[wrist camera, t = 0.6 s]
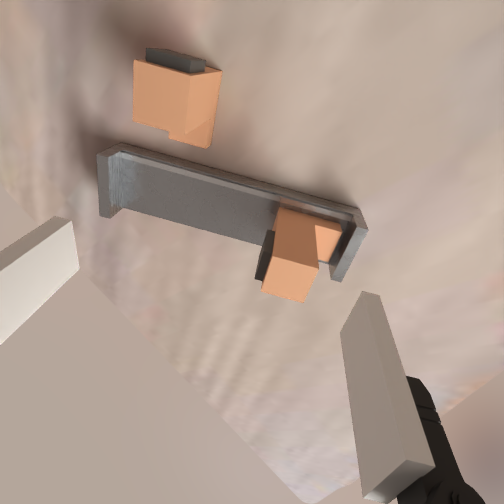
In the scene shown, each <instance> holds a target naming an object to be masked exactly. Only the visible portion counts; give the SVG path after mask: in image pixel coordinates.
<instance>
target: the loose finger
mask: <svg viewBox="0 0 504 504" xmlns="http://www.w3.org/2000/svg"><path fill="white" fill-rule="evenodd" d="M205 64H206V60H202V59H199V58H195V57H192V56H188V55H185V54H181V53H178V52H174V51H171V50H167V49H154V48H146V60H134V71H133V121H134V122H138V123H141V124H145V125H148V126H152V127H155V128H159V129H162V130H166V131H169V139H173V140H176V141H180V142H183V143H187V144H191V145H194V146H198V147H201V148H205V149H207V148H208V147H209V146H210V145H211V141H212V134H213V128H214V121H215V115H216V109H217V102H218V96H219V89H220V83H221V77H222V71H220V70H216V69H213V68H209V67H206V66H205Z"/></svg>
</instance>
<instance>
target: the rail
mask: <svg viewBox="0 0 504 504" xmlns="http://www.w3.org/2000/svg"><path fill="white" fill-rule="evenodd" d="M96 157H97V176H98V195H99V214H100V216H102V217H106V218H109V219H110V218H112V217H113V216H114V215H115V214H116V213H117V212H119V211H120V210H121V209H122V208H126V209H130V210H134V211H137V212H141V213H144V214H148V215H152V216H155V217H159V218H163V219H166V220H170V221H173V222H177V223H181V224H184V225H188V226H192V227H195V228H199V229H202V230H206V231H210V232H213V233H217V234H220V235H224V236H228V237H231V238H235V239H239V240H242V241H246V242H249V243H253V244H257V245H260V246H262V245H263V242H264V239H265V236H266V232H267V229H268V230H272V229H273V225H274V222H275V219H276V216H277V213H278V210H279V207H282V208H285V209H289V210H293V211H296V212H300V213H303V214H307V215H310V216H314V217H318V218H321V219H325V220H328V221H332V222H336V223H339V224H340V225H341V229H342V234H341V236H340V238H339V240H338V242H337V245H336V247H335V249H334V251H333V253H332V255H331V257H330V259H329V262H326V261H322V260H319V259H318V262H322V263H325V264H329V270H330V277H331V280H335V281H338V282H341V281H342V279H343V278H344V276H345V274H346V272H347V270H348V268H349V266H350V264H351V262H352V260H353V259H354V257H355V255H356V253H357V251H358V249H359V247H360V245H361V243H362V241H363V239H364V238H365V236H366V234H367V232H368V227H367V225H366V222H365V220H364V218H363V215H362V213H361V210H360V209H358V208H354V207H350V206H347V205H343V204H340V203H336V202H333V201H329V200H325V199H322V198H318V197H315V196H311V195H308V194H304V193H300V192H297V191H293V190H290V189H286V188H283V187H279V186H275V185H272V184H268V183H265V182H261V181H258V180H254V179H250V178H247V177H243V176H240V175H236V174H233V173H229V172H225V171H222V170H218V169H215V168H211V167H207V166H204V165H200V164H197V163H193V162H190V161H186V160H182V159H179V158H175V157H172V156H168V155H165V154H161V153H157V152H154V151H150V150H147V149H143V148H140V147H136V146H132V145H129V144H125V143H122V142H121V143H119V144H117V145H115V146H113V147H110V148H108V149H106V150H104V151H102V152H100V153H98V154H96Z"/></svg>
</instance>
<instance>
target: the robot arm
mask: <svg viewBox="0 0 504 504" xmlns="http://www.w3.org/2000/svg"><path fill="white" fill-rule="evenodd" d="M78 270H79V262H78V256H77V250H76V244H75V237H74V231H73V225H72V220H68V219H64V218H60V217H56V216H55V217H53V218H51V219H50V220H48V221H47V222H45V223H44V224H42V225H41V226H39V227H38V228H36V229H35V230H33V231H31V232H30V233H28V234H27V235H25V236H24V237H22V238H21V239H19V240H18V241H16V242H14V243H13V244H11V245H10V246H9V247H7V248H5V249H4V250H2V251H1V252H0V345H1V344H2V343H3V342H4V341H5V340H6V339H7V338H8V337H9V336H10V335H11V334H12V333H13V332H14V331H15V330H17V329H18V328H19V327H20V326H21V325H22V323H24V322H25V321H26V320H27V319H28V318H29V317H30V316H31V315H32V314H33V313H34V312H35V311H36V310H37V309H38V308H39V307H40V306H42V304H44V303H45V302H46V301H47V300H48V299H49V298H50V297H51V296H52V295H53V294H54V293H55V292H56V291H57V290H58V289H59V288H60V287H61V286H62V285H63V284H64V283H66V282H67V280H69V279H70V278H71V277H72V276H73V275H74V274H75V273H76V272H77V271H78ZM340 337H341V344H342V351H343V358H344V366H345V373H346V380H347V387H348V394H349V401H350V408H351V415H352V423H353V430H354V437H355V444H356V451H357V458H358V465H359V472H360V479H361V487H362V494H363V498H365V499H369V500H373V501H377V502H381V503H385V504H388V503H390V502H391V501H392V500H393V499H395V498H396V497H397V501H398V504H485V502H484V500H483V499H482V498H481V497H480V496H479V494H478V493H477V492H476V491H475V490H474V489H473V488H472V487H470V486H469V485H468V484H466V483H465V482H464V480H463V478H462V476H461V473H460V471H459V468H458V465H457V463H456V460H455V458H454V455H453V452H452V450H451V447H450V444H449V442H448V440H447V437H446V434H445V431H444V429H443V426H442V425H441V421H440V418H439V416H438V413H437V412H436V408H435V405H434V403H433V400H432V397H431V395H430V393H429V392H428V390H427V389H426V387H425V386H424V385H423V383H422V382H421V381H420V379H417V378H413V377H409V376H406V375H405V372H404V369H403V366H402V363H401V360H400V357H399V354H398V351H397V348H396V345H395V342H394V338H393V335H392V332H391V329H390V326H389V323H388V320H387V317H386V314H385V311H384V308H383V305H382V302H381V299H380V296H379V295H376V294H372V293H368V292H364V291H362V293H361V295H360V296H359V298H358V300H357V302H356V304H355V306H354V307H353V309H352V311H351V313H350V315H349V317H348V319H347V320H346V322H345V324H344V326H343V328H342V330H341V332H340Z"/></svg>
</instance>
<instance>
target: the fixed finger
mask: <svg viewBox="0 0 504 504" xmlns="http://www.w3.org/2000/svg"><path fill="white" fill-rule="evenodd" d="M341 234H342V229H341V225H340V224H339V223H336V222H332V221H328V220H325V219H321V218H318V217H314V216H310V215H307V214H303V213H300V212H296V211H293V210H289V209H285V208H282V207H279V210H278V213H277V216H276V219H275V222H274V225H273V229H272V230H268V229H267V232H266V236H265V239H264V242H263V245H262V249H261V252H260V255H259V260H258V265H257V270H256V274H255V279H257V280H260V281H262V287H261V292H265V293H268V294H272V295H276V296H279V297H283V298H287V299H290V300H294V301H298V302H301V303H304V300H305V298H306V296H307V294H308V292H309V289H310V287H311V285H312V283H313V281H314V279H315V276H316V274H317V272H318V270H319V264H318V259H319V260H322V261H326V262H329V259H330V257H331V255H332V253H333V251H334V249H335V247H336V245H337V242H338V240H339V238H340V236H341Z"/></svg>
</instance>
